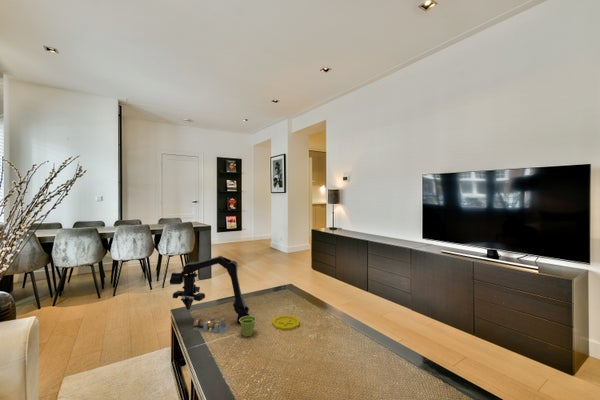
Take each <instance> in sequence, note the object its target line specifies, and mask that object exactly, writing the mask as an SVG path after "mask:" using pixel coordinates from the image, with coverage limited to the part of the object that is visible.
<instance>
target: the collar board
mask: <svg viewBox="0 0 600 400" xmlns="http://www.w3.org/2000/svg"><path fill="white" fill-rule="evenodd" d="M215 318H216V317H214V316H211V317H210V318H209V320H210V321H216V320H215ZM230 328H232V326H231V325H226V318H223V317H221V318H220V321H219V320H217V322H216V323H215V325H214V328H213V329H212V328H208V322H204V324H203V327H199V326H194V327H193V328H192V331H196V332H204V333H209V334H210V333H211V334H217V335H225V334H226V333H227V331H228V330H230Z"/></svg>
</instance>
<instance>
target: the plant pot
mask: <svg viewBox="0 0 600 400" xmlns="http://www.w3.org/2000/svg"><path fill="white" fill-rule="evenodd" d="M239 321H240V324H241V325H240V324H239V325H240V327H241V336H243V337H245V338H247V337H252V336H253V335H254V328H255V323H256V321H257V318H256V317H255V316H253V315H249V316H244V317H242V318H240V320H239Z"/></svg>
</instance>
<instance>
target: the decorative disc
mask: <svg viewBox="0 0 600 400" xmlns="http://www.w3.org/2000/svg"><path fill="white" fill-rule="evenodd" d="M300 321H301V320H300V319H299V318H297V317H296V316H294V315H288V314H285V315H277V316H275V317H274V318H273V319H272V321H271V326H272V325H273V326H274V327H275V328H276V329H275V328H274V327H273V326H272V327H273V328H274V329H275V330H278V329H279V331H283V332H286V331H288V330H289V331H294V330H296V329H297V328H296V327H298V326H299V327H300V323H299V322H300ZM299 327H298V328H299ZM295 328H296V329H295ZM293 329H294V330H293Z"/></svg>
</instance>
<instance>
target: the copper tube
mask: <svg viewBox="0 0 600 400" xmlns="http://www.w3.org/2000/svg"><path fill="white" fill-rule="evenodd" d="M204 322H208V328H212V329H213V328H214V325H215V324H216V320H214V321H210V319H209V320H208V319H201V318H195V319H194V320H193V326H194V327H196V326H199V327H203V324H204Z"/></svg>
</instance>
